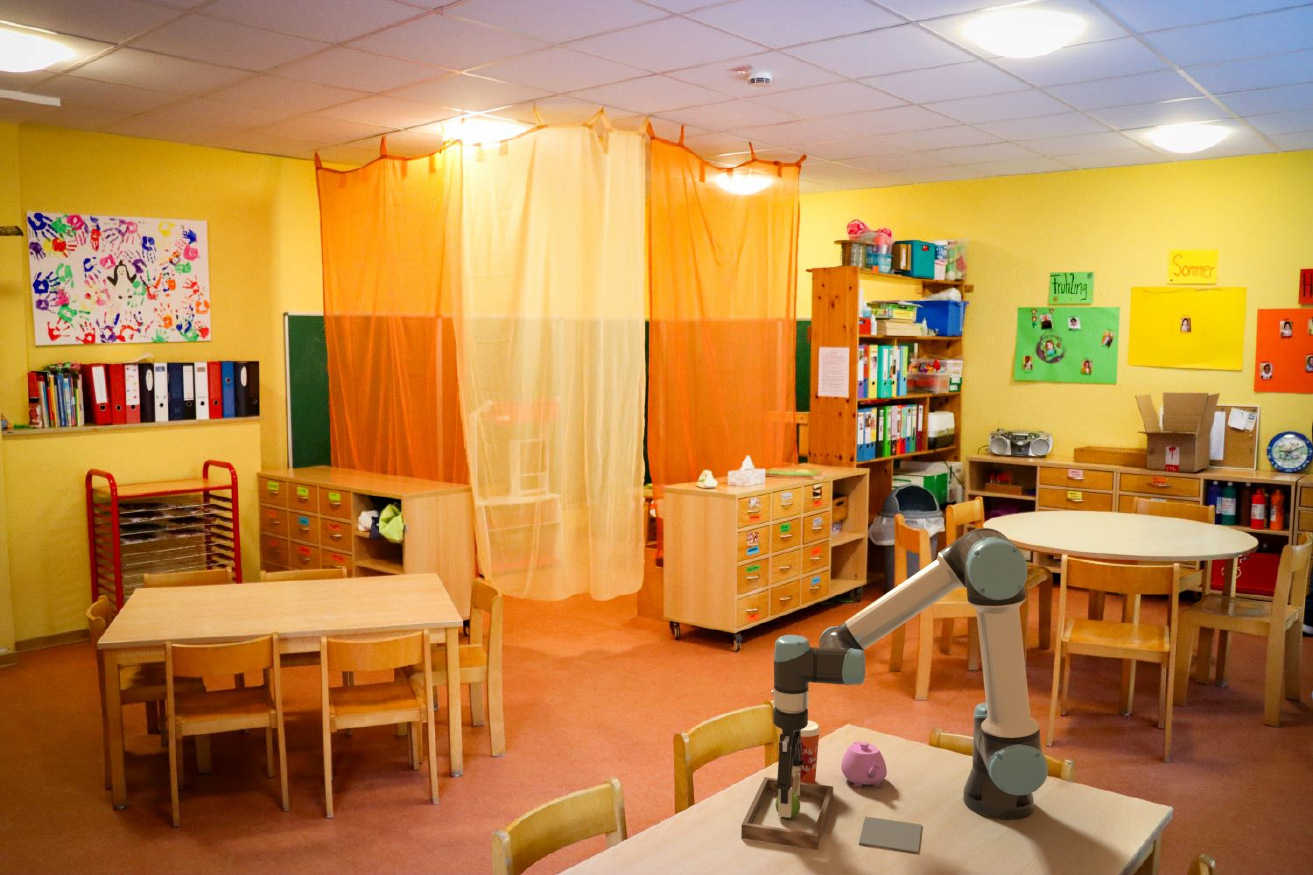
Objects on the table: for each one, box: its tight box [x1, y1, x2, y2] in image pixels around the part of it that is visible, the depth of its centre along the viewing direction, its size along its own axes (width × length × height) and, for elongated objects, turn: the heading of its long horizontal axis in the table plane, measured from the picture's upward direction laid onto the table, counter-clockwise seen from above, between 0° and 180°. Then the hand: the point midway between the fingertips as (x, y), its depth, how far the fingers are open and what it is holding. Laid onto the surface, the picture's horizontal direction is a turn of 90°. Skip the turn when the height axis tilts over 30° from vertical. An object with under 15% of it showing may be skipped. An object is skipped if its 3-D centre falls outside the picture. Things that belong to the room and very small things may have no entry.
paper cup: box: [798, 719, 821, 784], centre depth 237 cm, size 8×8×14 cm
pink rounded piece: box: [840, 740, 888, 788], centre depth 237 cm, size 10×15×9 cm
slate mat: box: [858, 816, 922, 854], centre depth 212 cm, size 12×12×1 cm
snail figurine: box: [775, 770, 801, 819], centre depth 219 cm, size 5×6×12 cm
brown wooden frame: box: [740, 776, 834, 851], centre depth 220 cm, size 16×24×3 cm, turn 162°
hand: (789, 804), depth 220 cm, fingers open, 10 cm apart
